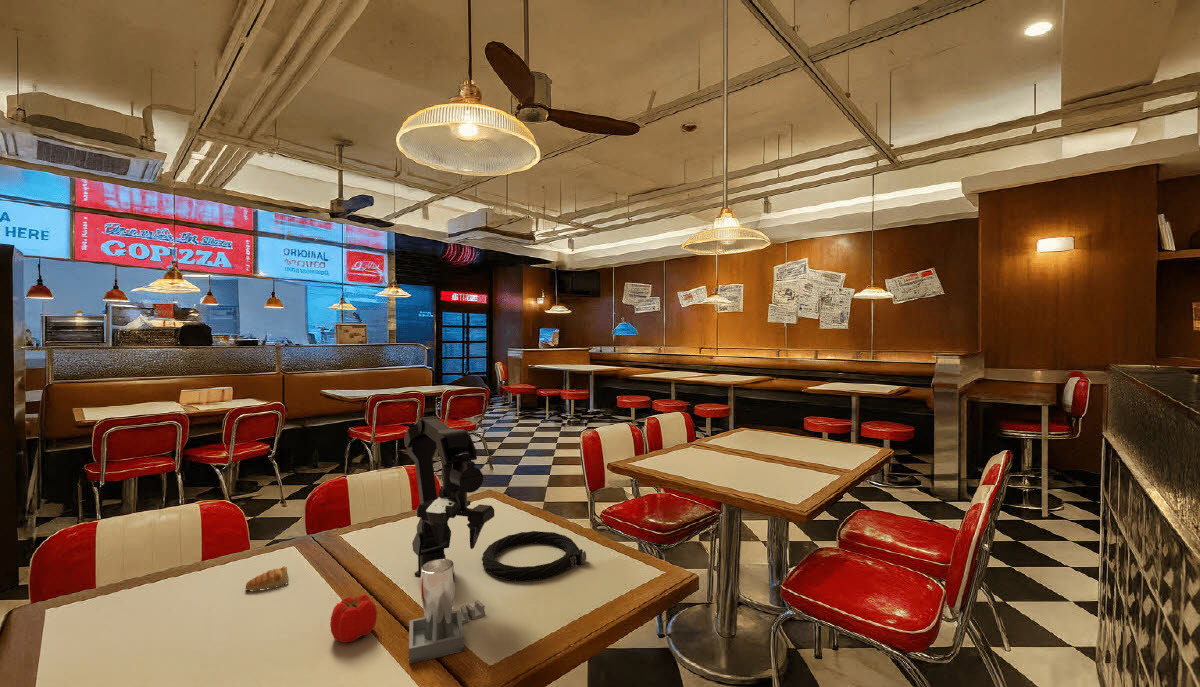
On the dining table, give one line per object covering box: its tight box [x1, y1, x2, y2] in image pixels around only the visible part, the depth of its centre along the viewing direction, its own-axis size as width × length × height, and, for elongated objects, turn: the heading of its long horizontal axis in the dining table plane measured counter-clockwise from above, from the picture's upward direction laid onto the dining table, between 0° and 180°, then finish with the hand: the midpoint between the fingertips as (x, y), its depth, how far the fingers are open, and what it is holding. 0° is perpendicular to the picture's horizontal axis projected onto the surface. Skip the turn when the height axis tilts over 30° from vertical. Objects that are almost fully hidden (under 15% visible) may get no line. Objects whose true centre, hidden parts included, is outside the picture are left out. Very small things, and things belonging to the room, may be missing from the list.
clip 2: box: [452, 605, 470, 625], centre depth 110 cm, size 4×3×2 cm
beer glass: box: [419, 558, 456, 643], centre depth 103 cm, size 7×7×15 cm
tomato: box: [330, 594, 378, 643], centre depth 105 cm, size 9×9×8 cm
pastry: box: [245, 566, 290, 591], centre depth 128 cm, size 9×7×4 cm
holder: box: [408, 609, 465, 665], centre depth 102 cm, size 10×10×3 cm
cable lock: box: [481, 530, 587, 582], centre depth 140 cm, size 28×4×30 cm
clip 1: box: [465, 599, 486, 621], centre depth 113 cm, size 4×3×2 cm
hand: (456, 546), depth 119 cm, fingers open, 9 cm apart
